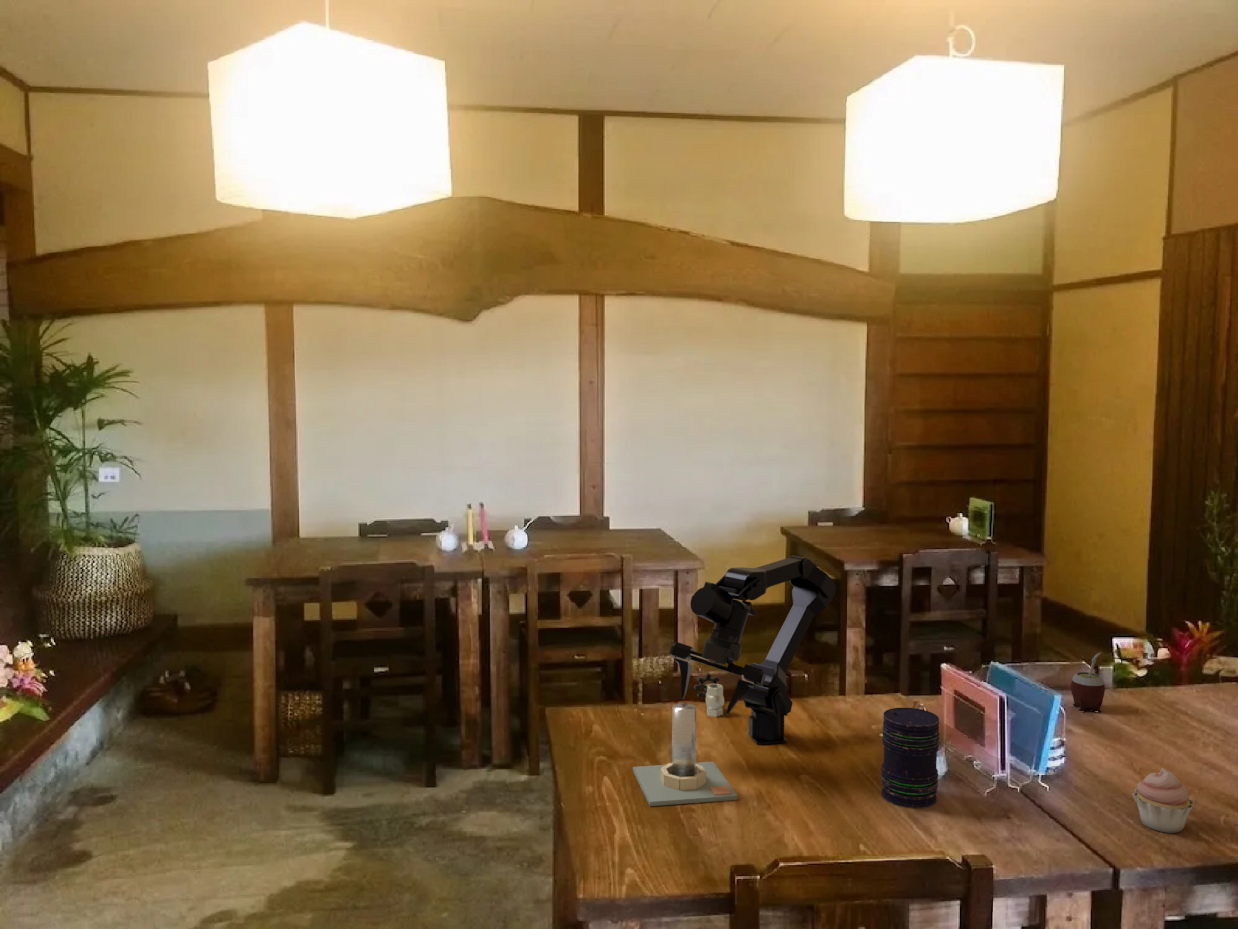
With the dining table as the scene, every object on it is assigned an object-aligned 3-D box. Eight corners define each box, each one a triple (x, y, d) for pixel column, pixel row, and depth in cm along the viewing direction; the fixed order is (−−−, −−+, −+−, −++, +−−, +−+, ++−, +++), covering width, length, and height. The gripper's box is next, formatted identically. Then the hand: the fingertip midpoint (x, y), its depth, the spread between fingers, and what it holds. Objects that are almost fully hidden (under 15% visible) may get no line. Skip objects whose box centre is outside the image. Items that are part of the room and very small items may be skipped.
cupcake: (1127, 809, 175) (1130, 754, 174) (1188, 818, 172) (1191, 762, 171) (1133, 832, 166) (1136, 774, 166) (1197, 842, 163) (1200, 783, 162)
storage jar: (943, 793, 182) (945, 713, 181) (930, 813, 174) (932, 729, 172) (888, 781, 187) (890, 704, 186) (873, 800, 179) (875, 719, 177)
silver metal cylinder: (684, 774, 188) (684, 701, 187) (700, 781, 185) (701, 707, 184) (666, 780, 186) (667, 706, 184) (683, 787, 182) (683, 712, 181)
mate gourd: (1078, 702, 233) (1081, 639, 231) (1113, 711, 227) (1116, 646, 225) (1063, 709, 228) (1066, 644, 227) (1098, 718, 222) (1101, 652, 221)
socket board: (713, 765, 195) (713, 751, 194) (737, 799, 179) (737, 784, 179) (632, 771, 192) (632, 756, 192) (649, 806, 176) (649, 791, 176)
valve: (730, 717, 222) (721, 700, 234) (731, 688, 222) (722, 672, 234) (701, 718, 222) (693, 700, 234) (701, 689, 221) (694, 673, 233)
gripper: (677, 609, 193) (652, 687, 189) (771, 638, 187) (746, 719, 184) (686, 618, 203) (662, 693, 200) (774, 646, 198) (751, 723, 194)
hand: (704, 706), depth 194 cm, fingers open, 9 cm apart
